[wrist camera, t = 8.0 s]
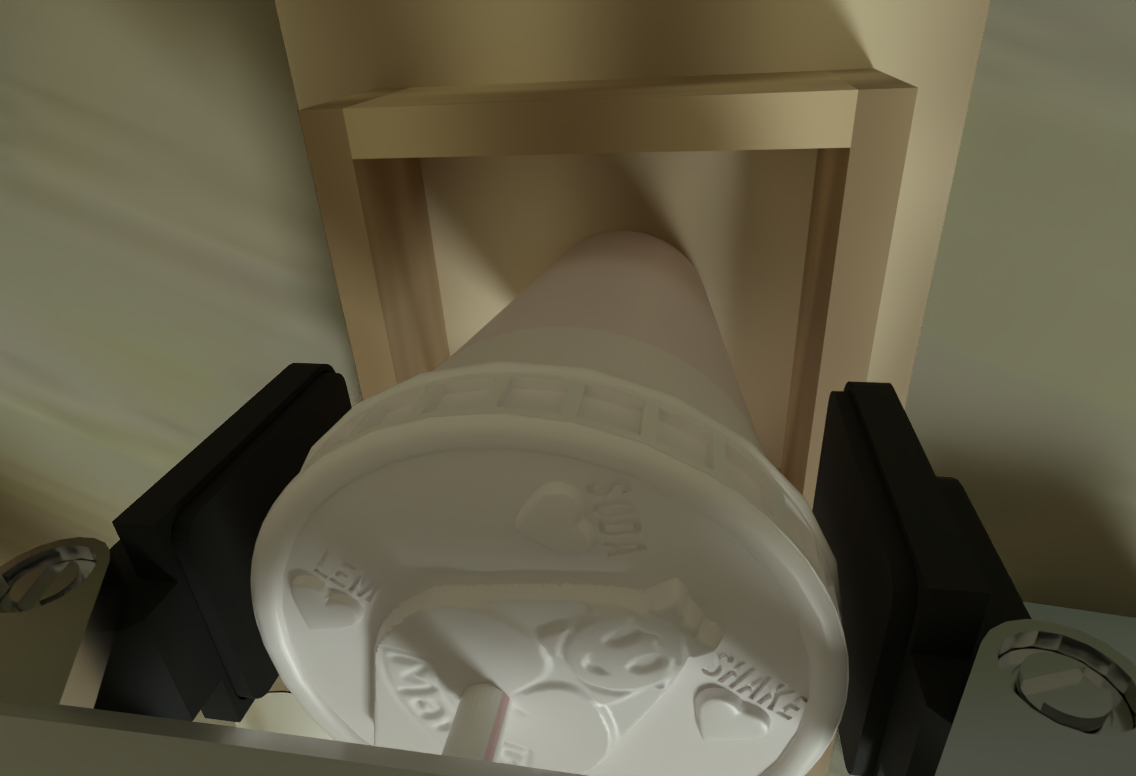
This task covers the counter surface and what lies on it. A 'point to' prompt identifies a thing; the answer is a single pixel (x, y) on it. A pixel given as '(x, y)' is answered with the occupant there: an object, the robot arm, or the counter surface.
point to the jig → (643, 173)
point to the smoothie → (562, 548)
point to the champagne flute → (281, 717)
